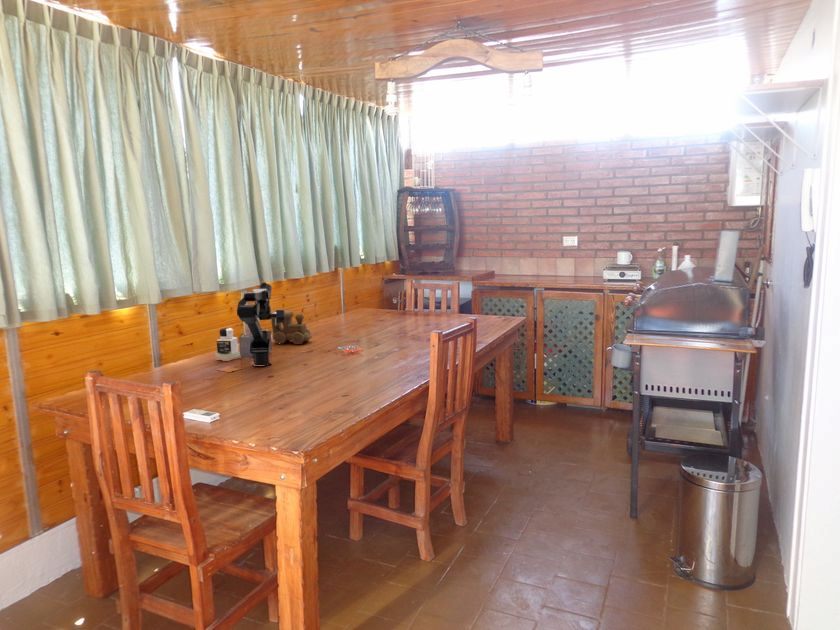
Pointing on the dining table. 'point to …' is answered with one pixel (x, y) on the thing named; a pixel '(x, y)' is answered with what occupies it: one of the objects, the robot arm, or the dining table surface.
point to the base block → (228, 355)
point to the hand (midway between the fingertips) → (266, 326)
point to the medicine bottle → (227, 342)
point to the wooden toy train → (290, 329)
